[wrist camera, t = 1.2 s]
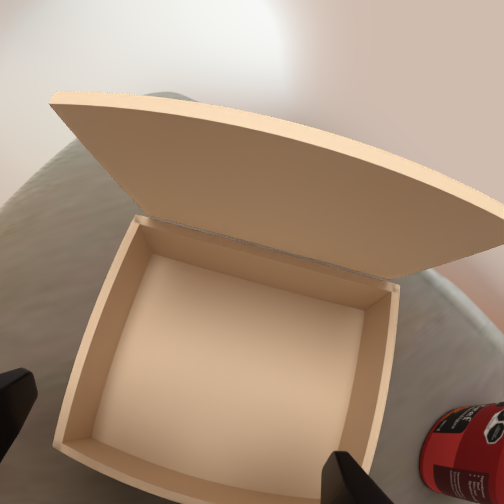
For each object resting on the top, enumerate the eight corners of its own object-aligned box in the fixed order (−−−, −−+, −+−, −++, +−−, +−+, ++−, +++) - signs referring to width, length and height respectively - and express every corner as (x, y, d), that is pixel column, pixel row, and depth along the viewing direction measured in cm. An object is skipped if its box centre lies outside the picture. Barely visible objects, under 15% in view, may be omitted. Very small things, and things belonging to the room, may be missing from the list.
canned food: (484, 405, 20) (576, 388, 10) (469, 484, 16) (557, 494, 6) (426, 406, 20) (529, 393, 10) (407, 495, 16) (500, 525, 6)
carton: (326, 504, 16) (351, 526, 12) (85, 439, 17) (52, 446, 12) (369, 307, 23) (399, 285, 19) (150, 248, 24) (135, 214, 19)
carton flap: (531, 234, 7) (530, 219, 7) (48, 103, 7) (56, 91, 8) (389, 280, 19) (390, 272, 19) (147, 215, 19) (150, 208, 19)
